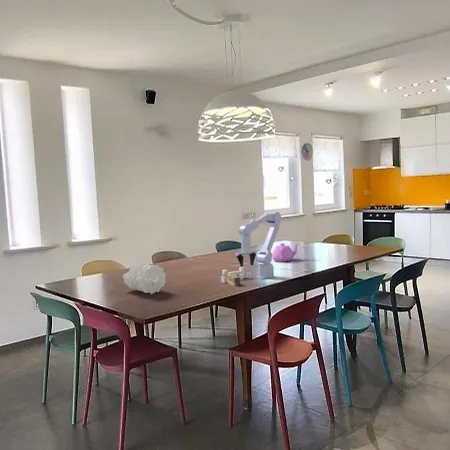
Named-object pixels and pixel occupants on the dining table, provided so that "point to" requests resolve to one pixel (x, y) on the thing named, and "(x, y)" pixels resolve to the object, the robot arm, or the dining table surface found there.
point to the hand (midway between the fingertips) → (246, 265)
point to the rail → (232, 279)
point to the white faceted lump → (145, 277)
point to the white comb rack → (236, 274)
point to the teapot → (283, 253)
